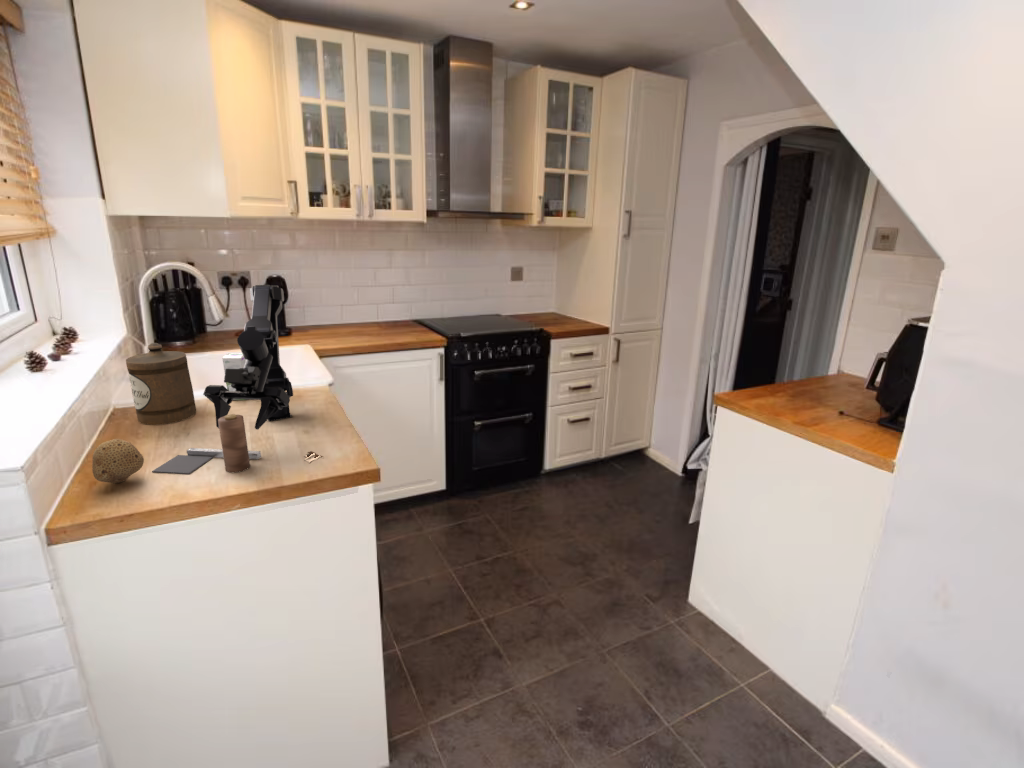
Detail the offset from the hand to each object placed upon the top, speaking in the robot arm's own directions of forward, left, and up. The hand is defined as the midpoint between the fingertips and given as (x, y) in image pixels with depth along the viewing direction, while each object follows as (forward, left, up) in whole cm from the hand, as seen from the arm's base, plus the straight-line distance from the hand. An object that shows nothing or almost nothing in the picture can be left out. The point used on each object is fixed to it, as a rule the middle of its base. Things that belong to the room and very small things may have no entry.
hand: (237, 428), depth 126 cm
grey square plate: (+11, -8, -9) cm, 16 cm away
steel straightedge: (+3, -7, -9) cm, 12 cm away
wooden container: (+10, -48, -9) cm, 50 cm away
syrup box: (-11, -54, -9) cm, 56 cm away
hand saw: (-13, -3, -10) cm, 17 cm away
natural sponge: (+23, -6, -9) cm, 26 cm away
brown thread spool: (+1, +1, -9) cm, 9 cm away
